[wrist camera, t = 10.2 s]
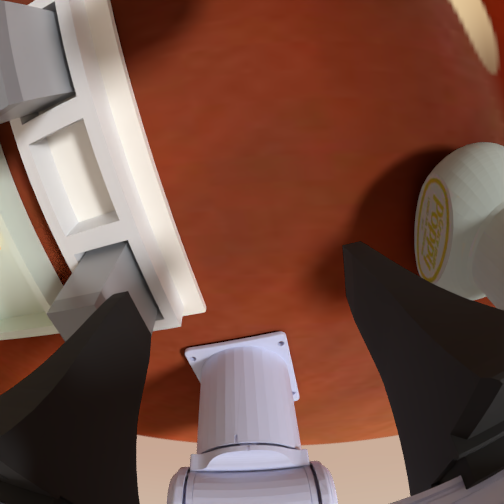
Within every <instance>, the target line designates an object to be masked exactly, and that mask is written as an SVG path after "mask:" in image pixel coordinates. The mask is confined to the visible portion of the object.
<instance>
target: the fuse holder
mask: <svg viewBox="0 0 504 504" xmlns="http://www.w3.org/2000/svg"><path fill="white" fill-rule="evenodd" d="M28 6H32V7H37V8H41V9H45V10H49V11H53V12H57V16H58V21H59V26H60V31H61V36H62V40H63V45H64V49H65V53H66V58H67V62H68V66H69V70H70V74H71V78H72V81H73V85H74V89H75V92H76V94H75V95H73V96H71V97H69V98H67V99H65V100H63V101H61V102H59V103H57V104H55V105H53V106H51V107H49V108H47V109H45V110H43V111H40V112H36V113H33V114H29V115H26V116H23V117H19V118H16V119H13V120H10V124H11V128H12V131H13V134H14V137H15V140H16V143H17V147H18V150H19V152H20V155H21V158H22V161H23V164H24V167H25V169H26V172H27V175H28V177H29V180H30V183H31V185H32V188H33V190H34V193H35V195H36V198H37V200H38V202H39V205H40V207H41V209H42V212H43V214H44V216H45V219H46V221H47V223H48V225H49V227H50V230H51V232H52V234H53V236H54V238H55V240H56V242H57V244H58V246H59V248H60V250H61V252H62V254H63V256H64V258H65V260H66V262H67V264H68V266H69V268H70V270H71V272H72V273H73V271H74V270H75V268H76V267H77V265H78V264H79V262H80V261H81V259H82V258H83V257H84V255H85V254H86V252H87V251H89V250H92V249H96V248H100V247H103V246H107V245H111V244H114V243H118V242H122V241H126V240H128V242H129V244H130V246H131V249H132V251H133V253H134V256H135V258H136V260H137V262H138V265H139V267H140V269H141V271H142V273H143V275H144V278H145V280H146V282H147V284H148V286H149V288H150V290H151V293H152V295H153V297H154V299H155V301H156V303H157V305H158V307H159V309H158V312H157V316H156V320H155V324H154V328H153V331H156V330H163V329H169V328H175V327H181V322H182V316H187V315H192V314H198V313H203V312H206V305H205V302H204V300H203V297H202V294H201V292H200V289H199V287H198V284H197V282H196V279H195V276H194V274H193V271H192V268H191V266H190V263H189V260H188V258H187V255H186V252H185V250H184V247H183V244H182V241H181V239H180V236H179V233H178V230H177V227H176V225H175V222H174V219H173V216H172V213H171V210H170V207H169V205H168V202H167V199H166V196H165V193H164V190H163V187H162V184H161V181H160V178H159V175H158V172H157V169H156V166H155V162H154V159H153V156H152V153H151V150H150V147H149V143H148V140H147V137H146V134H145V130H144V127H143V124H142V120H141V117H140V114H139V110H138V107H137V103H136V100H135V96H134V93H133V89H132V86H131V82H130V78H129V75H128V71H127V67H126V64H125V60H124V56H123V52H122V48H121V44H120V40H119V36H118V32H117V28H116V24H115V19H114V15H113V11H112V6H111V2H110V0H35V1H33V2H32V3H30V4H29V5H28Z"/></svg>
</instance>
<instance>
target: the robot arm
mask: <svg viewBox="0 0 504 504" xmlns="http://www.w3.org/2000/svg"><path fill="white" fill-rule="evenodd" d="M342 247H343V259H344V272H345V287H346V297H347V300H348V303H349V306H350V309H351V312H352V315H353V318H354V320H355V323H356V325H357V327H358V329H359V331H360V333H361V335H362V337H363V339H364V341H365V343H366V346H367V348H368V350H369V352H370V354H371V356H372V358H373V360H374V362H375V364H376V367H377V369H378V371H379V373H380V376H381V378H382V381H383V383H384V386H385V389H386V392H387V395H388V399H389V402H390V405H391V408H392V412H393V415H394V419H395V423H396V426H397V430H398V434H399V438H400V442H401V446H402V451H403V455H404V460H405V465H406V470H407V476H408V482H409V488H410V495H411V497H408V498H405V499H402V500H400V501H396V502H393V503H390V504H504V310H501V309H497V308H494V307H490V306H487V305H484V304H481V303H478V302H475V301H472V300H470V299H467V298H464V297H462V296H459V295H457V294H454V293H452V292H450V291H448V290H445V289H443V288H441V287H439V286H437V285H435V284H432V283H430V282H429V281H427V280H425V279H423V278H421V277H419V276H417V275H415V274H414V273H412V272H410V271H408V270H407V269H405V268H403V267H402V266H400V265H398V264H397V263H395V262H393V261H392V260H390V259H388V258H387V257H385V256H384V255H382V254H380V253H379V252H377V251H376V250H374V249H372V248H371V247H369V246H368V245H366V244H364V243H363V242H361V241H360V242H355V243H351V244H346V245H342ZM280 341H283V342H280ZM150 346H151V333H150V331H149V329H148V327H147V326H146V324H145V322H144V320H143V318H142V317H141V315H140V313H139V311H138V309H137V307H136V305H135V303H134V302H133V300H132V298H131V296H130V294H129V292H128V291H126V292H121V293H116V294H113V295H112V296H110V297H109V298H108V299H107V300H106V301H105V302H104V303H103V304H102V305H101V306H100V307H99V308H98V309H97V310H96V311H95V312H94V313H93V314H92V315H91V316H90V317H89V318H88V319H87V320H86V321H85V322H84V323H83V324H82V325H81V326H80V327H79V328H78V330H77V331H76V332H75V333H74V334H73V335H72V336H71V337H70V338H69V339H68V340H67V341H66V342H65V343H64V344H63V345H62V346H61V347H60V348H59V349H58V350H57V351H56V352H55V353H54V354H53V355H52V356H51V357H50V358H48V359H47V360H46V361H45V362H44V363H43V364H42V365H41V366H39V367H38V368H37V369H36V370H35V371H34V372H32V373H31V374H30V375H28V376H27V377H26V378H24V379H23V380H22V381H20V382H19V383H18V384H17V385H15V386H14V387H13V388H11V389H10V390H8V391H7V392H5V393H4V394H2V395H0V504H140V503H139V496H138V487H137V471H136V439H137V422H138V415H139V409H140V403H141V398H142V393H143V389H144V384H145V379H146V374H147V369H148V364H149V358H150ZM185 356H186V358H187V360H188V362H189V364H190V365H191V367H192V369H193V371H194V373H195V374H196V376H197V378H198V380H199V381H200V383H201V389H200V404H199V421H198V440H197V454H191V459H190V467H181V468H180V469H179V470H178V472H177V473H176V474H175V475H174V476H173V477H172V479H171V481H170V484H169V489H168V496H167V504H338V501H337V494H336V489H335V485H334V482H333V478H332V476H331V474H330V472H329V470H328V469H327V468H326V467H325V466H323V465H322V464H321V463H320V462H319V461H310V462H309V458H308V451H307V449H301V444H300V438H299V432H298V425H297V419H296V413H295V407H294V401H297V400H298V399H299V393H298V388H297V384H296V379H295V374H294V370H293V365H292V360H291V356H290V351H289V347H288V342H287V338H286V334H285V333H284V332H281V331H280V332H274V333H269V334H264V335H259V336H254V337H248V338H243V339H238V340H232V341H226V342H221V343H215V344H209V345H203V346H196V347H190V348H187V349H186V350H185ZM194 357H195V358H194Z"/></svg>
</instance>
